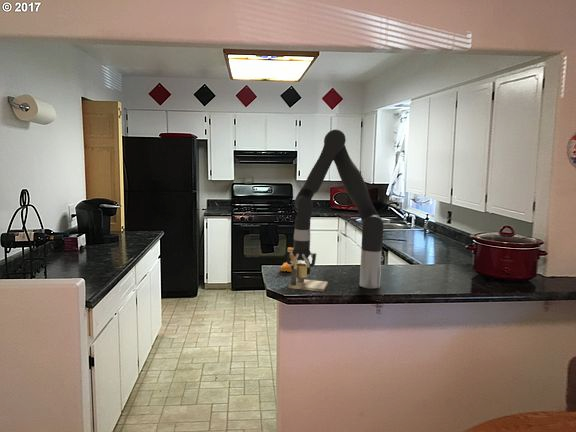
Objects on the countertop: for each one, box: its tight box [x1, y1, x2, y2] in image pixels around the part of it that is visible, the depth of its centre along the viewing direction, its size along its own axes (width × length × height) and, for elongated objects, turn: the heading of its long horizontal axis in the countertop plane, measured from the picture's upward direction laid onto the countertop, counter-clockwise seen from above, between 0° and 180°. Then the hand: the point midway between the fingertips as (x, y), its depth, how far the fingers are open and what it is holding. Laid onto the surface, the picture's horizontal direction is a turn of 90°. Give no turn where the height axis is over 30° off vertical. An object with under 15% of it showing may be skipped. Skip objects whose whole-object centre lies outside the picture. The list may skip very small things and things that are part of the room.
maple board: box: [287, 269, 329, 293], centre depth 209 cm, size 16×12×8 cm
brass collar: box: [294, 262, 309, 278], centre depth 212 cm, size 6×6×5 cm
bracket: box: [280, 246, 299, 273], centre depth 235 cm, size 11×7×12 cm, turn 169°
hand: (300, 274), depth 212 cm, fingers closed on brass collar, 6 cm apart
